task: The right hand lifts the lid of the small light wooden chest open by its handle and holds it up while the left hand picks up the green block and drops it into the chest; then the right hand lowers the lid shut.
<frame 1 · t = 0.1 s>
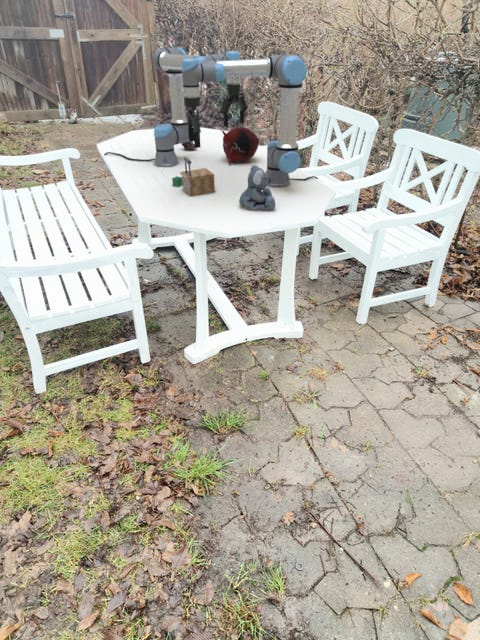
left hand: (234, 125, 259), 28 cm above the table, tool pointing down, fingers open, 13 cm apart
right hand: (194, 144, 222), 28 cm above the table, tool pointing down, fingers open, 13 cm apart
koala plush: (256, 206, 229), on the table
rock: (188, 149, 324), on the table
chest: (198, 190, 249), on the table
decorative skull: (240, 160, 300), on the table
block: (177, 185, 258), on the table
lid: (196, 166, 242), point 13 cm above the table, hinge at -0.1°
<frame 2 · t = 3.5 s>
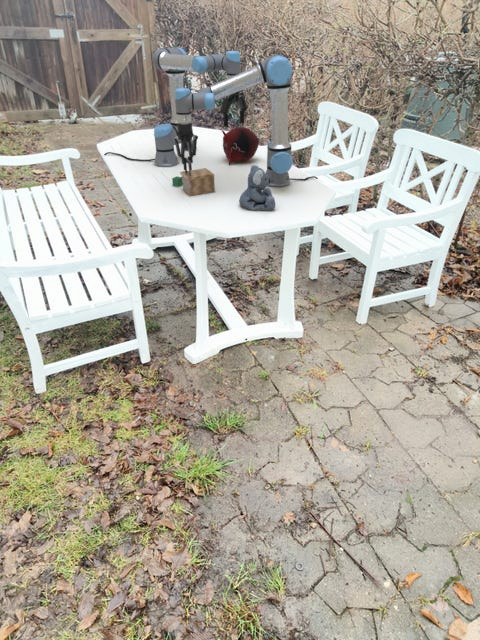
left hand: (234, 125, 259), 28 cm above the table, tool pointing down, fingers open, 13 cm apart
right hand: (187, 169, 241), 12 cm above the table, tool pointing down, fingers closed on lid, 2 cm apart
lid: (196, 166, 242), point 13 cm above the table, hinge at -0.1°, touching right hand
everything else where it was.
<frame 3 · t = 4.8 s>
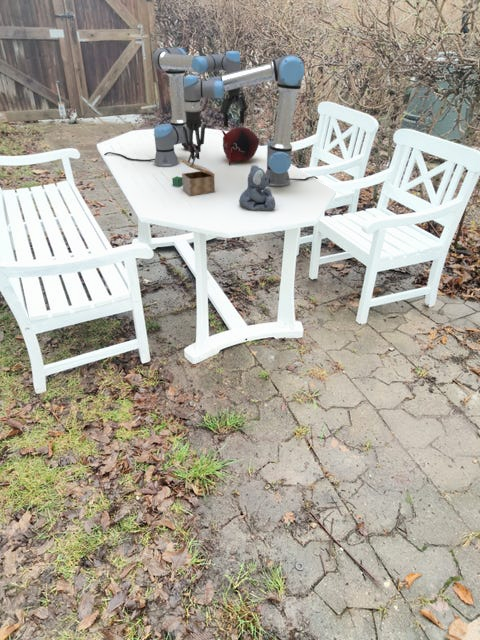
left hand: (234, 125, 259), 28 cm above the table, tool pointing down, fingers open, 13 cm apart
right hand: (195, 158, 239), 18 cm above the table, tool pointing down, fingers closed on lid, 2 cm apart
lid: (200, 160, 241), point 16 cm above the table, hinge at 25.3°, touching right hand
everything else where it was.
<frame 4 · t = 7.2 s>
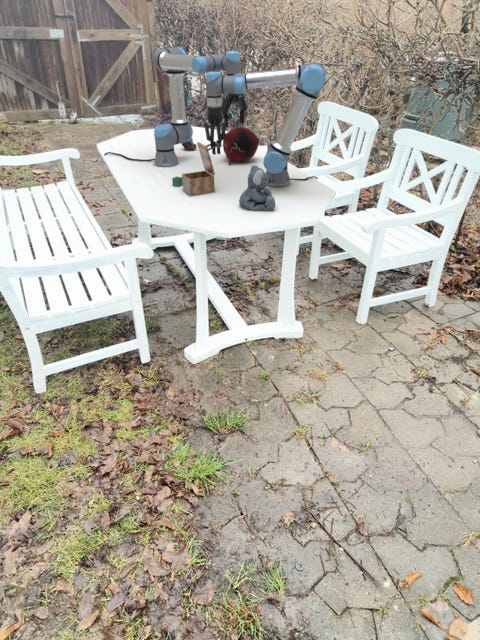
left hand: (234, 125, 259), 28 cm above the table, tool pointing down, fingers open, 13 cm apart
right hand: (216, 153, 243), 19 cm above the table, tool pointing down, fingers closed on lid, 2 cm apart
lid: (212, 156, 243), point 18 cm above the table, hinge at 75.4°, touching right hand
everything else where it was.
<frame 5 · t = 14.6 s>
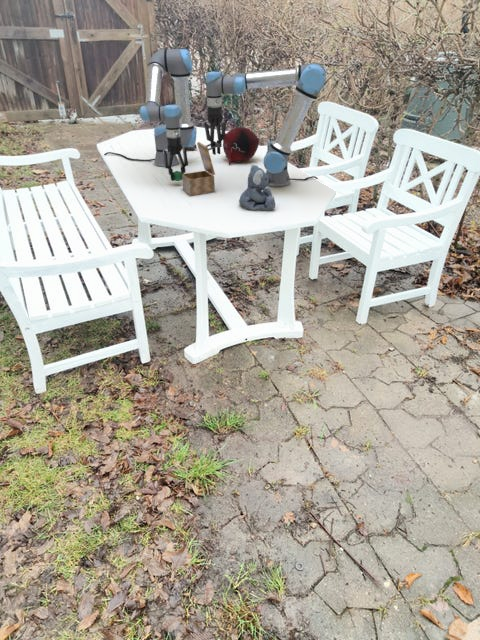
left hand: (177, 179, 256), 3 cm above the table, tool pointing down, fingers closed on block, 6 cm apart
right hand: (216, 153, 243), 19 cm above the table, tool pointing down, fingers closed on lid, 2 cm apart
block: (177, 179, 257), point 3 cm above the table, touching left hand
lid: (212, 155, 243), point 18 cm above the table, hinge at 75.8°, touching right hand
everything else where it was.
when the left hand's fingers open (14 cm above the table, at t = 18.0 s): block drops 11 cm and tips over, resting on chest.
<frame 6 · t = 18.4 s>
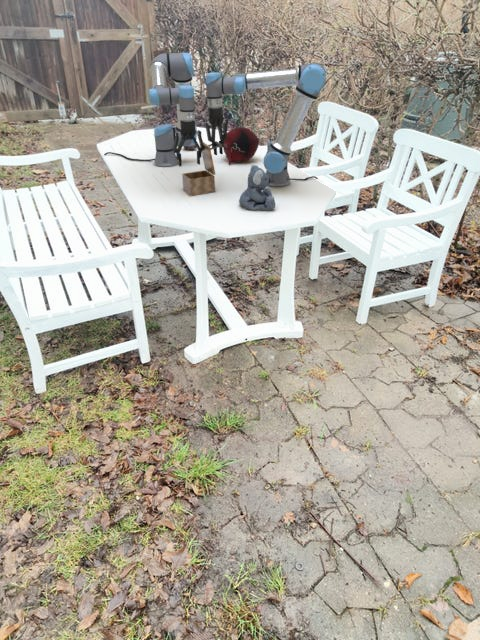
left hand: (189, 165, 240), 15 cm above the table, tool pointing down, fingers open, 10 cm apart
right hand: (218, 154, 243), 18 cm above the table, tool pointing down, fingers open, 3 cm apart
chest: (199, 190, 250), on the table, touching block
block: (193, 184, 249), point 3 cm above the table, tilted 90°, touching chest
lid: (214, 155, 243), point 18 cm above the table, hinge at 80.3°, touching left hand, right hand
everything else where it was.
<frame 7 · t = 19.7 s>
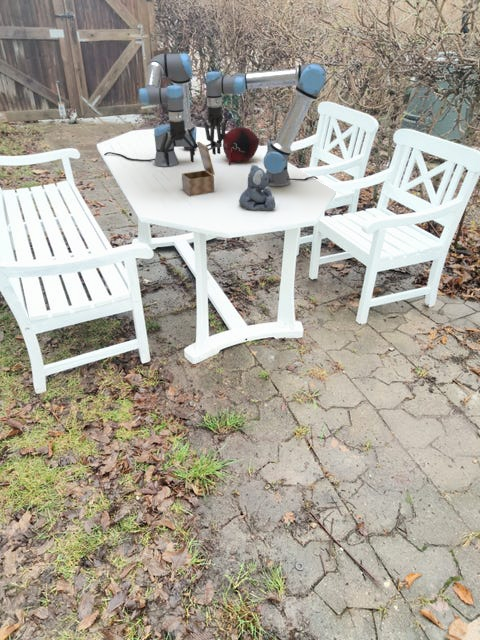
left hand: (180, 163, 237), 16 cm above the table, tool pointing down, fingers open, 13 cm apart
right hand: (216, 153, 243), 19 cm above the table, tool pointing down, fingers closed on lid, 2 cm apart
lid: (212, 155, 243), point 18 cm above the table, hinge at 76.4°, touching right hand
everything else where it was.
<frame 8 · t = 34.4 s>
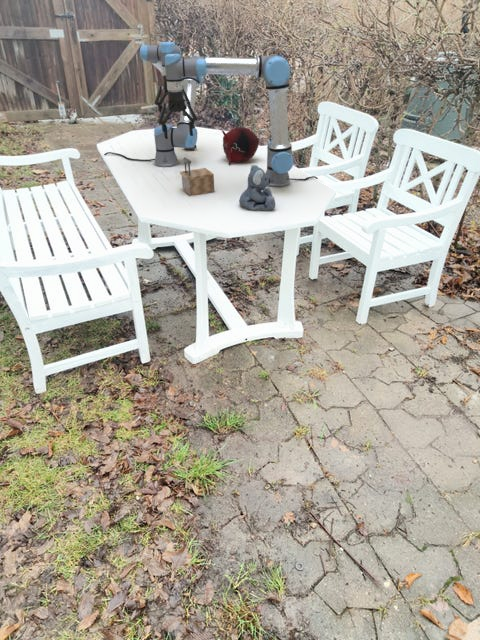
left hand: (173, 117, 258), 32 cm above the table, tool pointing down, fingers open, 13 cm apart
right hand: (178, 137, 230), 29 cm above the table, tool pointing down, fingers open, 13 cm apart
lid: (196, 166, 242), point 13 cm above the table, hinge at -0.1°
everything else where it was.
at the end: block inside the target area in the chest (3.0 cm from its centre), point 3.0 cm above the chest's base; lid at +0° (first picture: +0°); the left hand is holding nothing; the right hand is holding nothing; chest tilted 0°; chest moved 0.3 cm from its start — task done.
